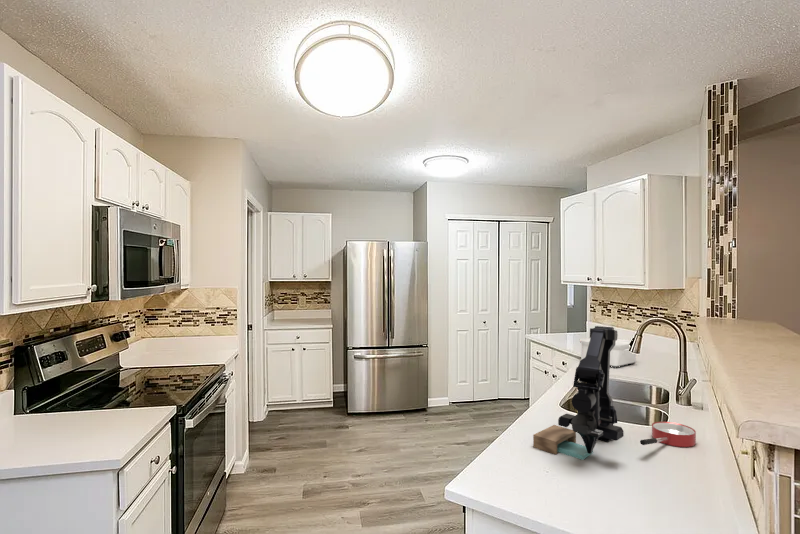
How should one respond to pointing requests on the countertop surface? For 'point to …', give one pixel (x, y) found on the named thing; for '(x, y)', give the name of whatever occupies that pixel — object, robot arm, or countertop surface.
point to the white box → (614, 352)
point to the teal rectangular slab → (573, 449)
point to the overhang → (553, 438)
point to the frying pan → (671, 434)
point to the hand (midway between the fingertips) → (589, 453)
